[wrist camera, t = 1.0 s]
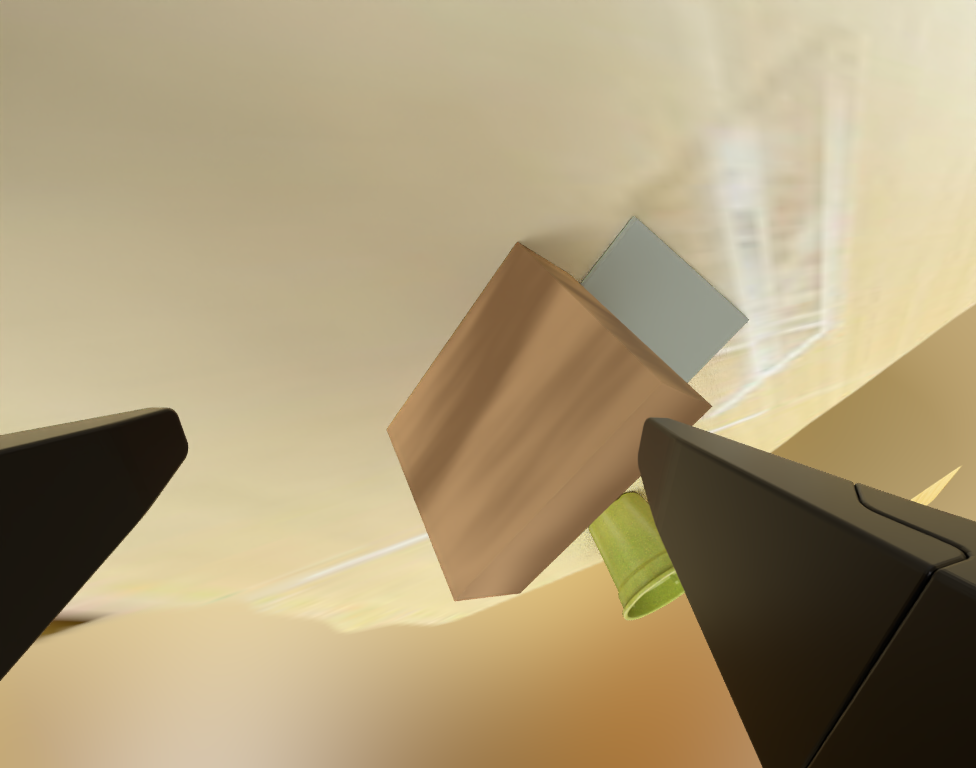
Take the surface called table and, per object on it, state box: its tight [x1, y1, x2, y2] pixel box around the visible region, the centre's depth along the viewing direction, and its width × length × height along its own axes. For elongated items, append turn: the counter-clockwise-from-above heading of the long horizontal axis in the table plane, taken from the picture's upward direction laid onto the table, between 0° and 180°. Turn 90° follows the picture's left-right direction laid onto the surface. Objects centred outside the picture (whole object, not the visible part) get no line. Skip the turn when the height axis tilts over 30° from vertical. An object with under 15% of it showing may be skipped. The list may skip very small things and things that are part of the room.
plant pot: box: [589, 493, 685, 620], centre depth 44 cm, size 9×9×9 cm
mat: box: [581, 216, 749, 383], centre depth 32 cm, size 16×20×1 cm
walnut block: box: [387, 242, 712, 601], centre depth 22 cm, size 4×12×10 cm, turn 141°
